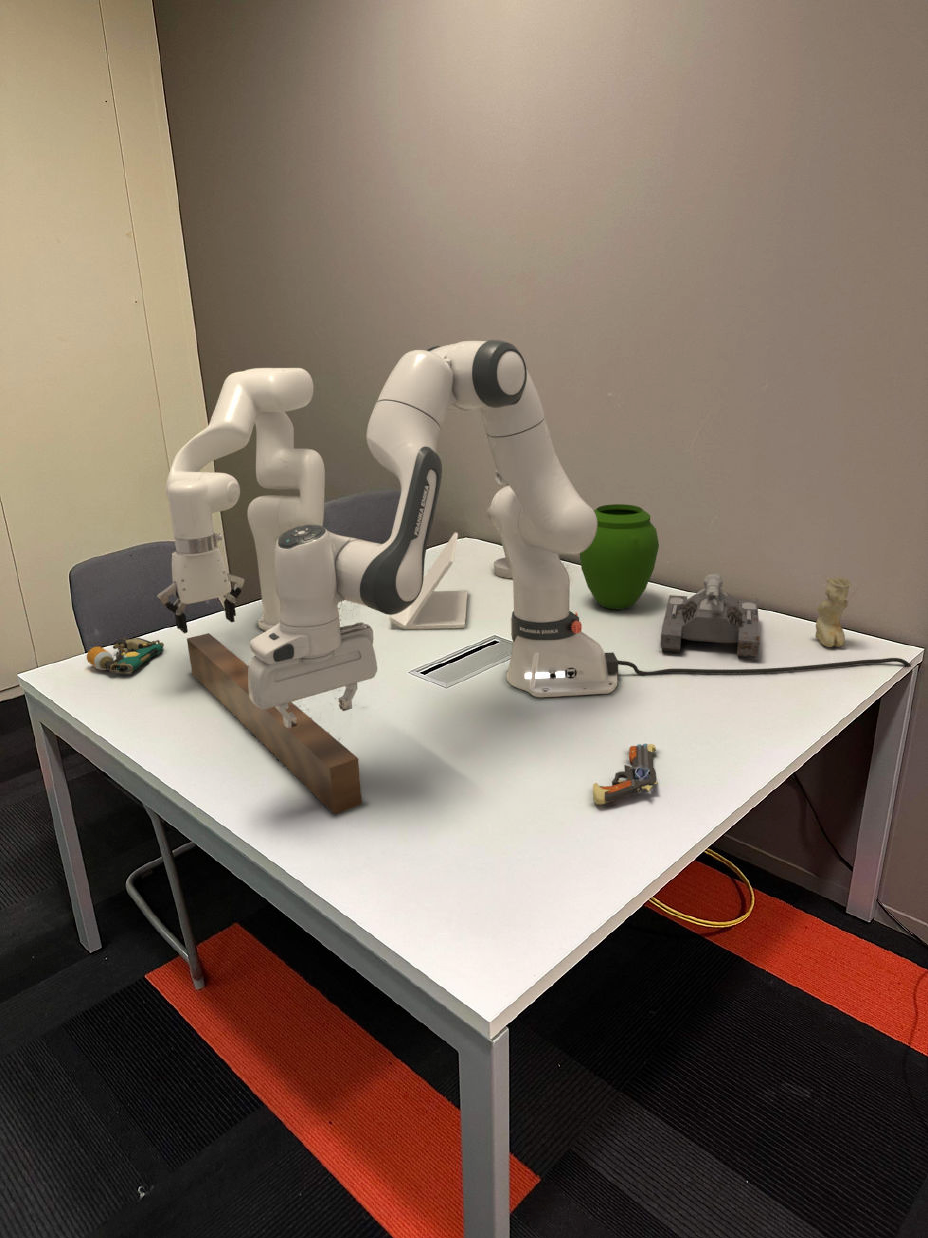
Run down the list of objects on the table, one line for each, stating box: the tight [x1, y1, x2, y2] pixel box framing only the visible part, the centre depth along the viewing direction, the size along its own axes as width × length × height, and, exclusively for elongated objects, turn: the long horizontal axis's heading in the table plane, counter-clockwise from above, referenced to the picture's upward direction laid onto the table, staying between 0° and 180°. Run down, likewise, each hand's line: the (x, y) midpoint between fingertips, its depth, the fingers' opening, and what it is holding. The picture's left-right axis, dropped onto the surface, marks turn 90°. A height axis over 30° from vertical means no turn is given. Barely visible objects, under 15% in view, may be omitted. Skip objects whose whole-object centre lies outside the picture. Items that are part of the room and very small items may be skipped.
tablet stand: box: [388, 531, 468, 630], centre depth 211 cm, size 18×25×17 cm
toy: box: [660, 573, 760, 658], centre depth 190 cm, size 25×20×15 cm
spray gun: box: [86, 637, 165, 674], centre depth 188 cm, size 4×17×15 cm
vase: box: [579, 503, 660, 610], centre depth 210 cm, size 20×20×24 cm
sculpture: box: [814, 576, 852, 648], centre depth 185 cm, size 6×7×15 cm
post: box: [186, 632, 363, 816], centre depth 156 cm, size 66×5×8 cm, turn 35°
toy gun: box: [592, 743, 658, 805], centre depth 137 cm, size 3×19×10 cm
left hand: (207, 625), depth 173 cm, fingers open, 9 cm apart
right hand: (318, 717), depth 133 cm, fingers open, 8 cm apart
